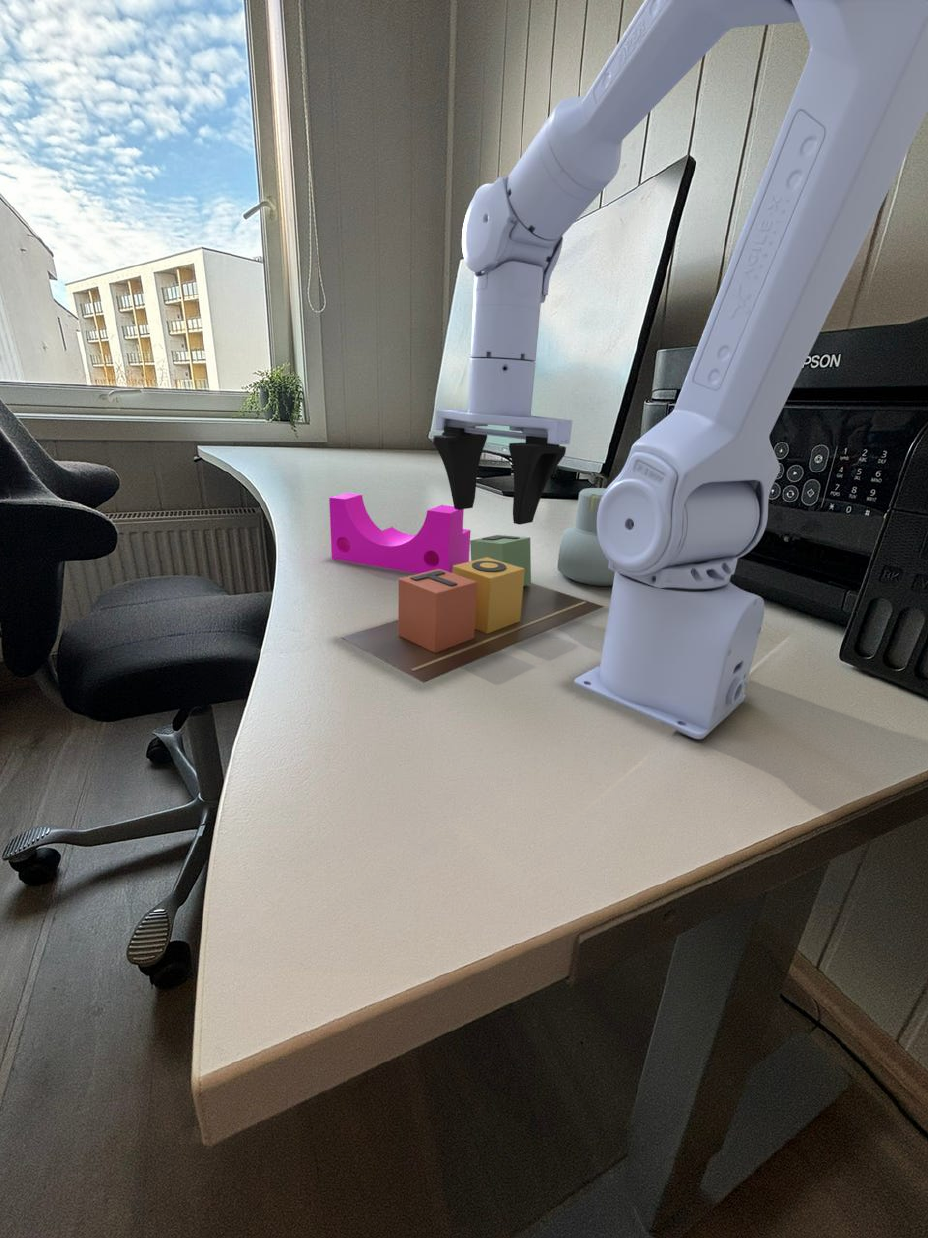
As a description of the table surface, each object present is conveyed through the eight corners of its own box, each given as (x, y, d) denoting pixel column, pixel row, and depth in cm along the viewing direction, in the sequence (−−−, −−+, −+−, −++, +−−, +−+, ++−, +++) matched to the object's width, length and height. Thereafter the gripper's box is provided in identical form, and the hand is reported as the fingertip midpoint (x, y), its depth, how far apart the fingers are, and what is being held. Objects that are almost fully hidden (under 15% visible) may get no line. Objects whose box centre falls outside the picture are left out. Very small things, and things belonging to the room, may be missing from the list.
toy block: (468, 567, 67) (471, 504, 65) (447, 581, 62) (450, 513, 59) (360, 549, 72) (358, 490, 70) (331, 561, 67) (329, 497, 64)
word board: (603, 609, 56) (603, 605, 56) (423, 686, 40) (423, 681, 40) (524, 584, 62) (524, 580, 62) (341, 641, 46) (341, 636, 46)
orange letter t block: (474, 638, 47) (478, 580, 45) (434, 653, 44) (437, 591, 42) (437, 622, 50) (439, 566, 48) (397, 635, 47) (398, 576, 45)
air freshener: (563, 562, 71) (572, 482, 67) (630, 570, 69) (644, 488, 66) (553, 589, 61) (564, 496, 58) (632, 599, 59) (648, 504, 56)
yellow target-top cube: (520, 621, 51) (525, 566, 49) (487, 634, 48) (491, 576, 46) (483, 607, 54) (487, 555, 52) (450, 618, 51) (452, 563, 49)
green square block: (531, 583, 61) (530, 536, 59) (504, 592, 58) (502, 542, 56) (499, 578, 64) (498, 533, 62) (472, 586, 61) (469, 539, 59)
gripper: (599, 364, 48) (578, 524, 53) (473, 362, 57) (466, 498, 62) (550, 358, 43) (532, 534, 48) (421, 357, 52) (418, 505, 57)
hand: (492, 515), depth 54 cm, fingers open, 7 cm apart
